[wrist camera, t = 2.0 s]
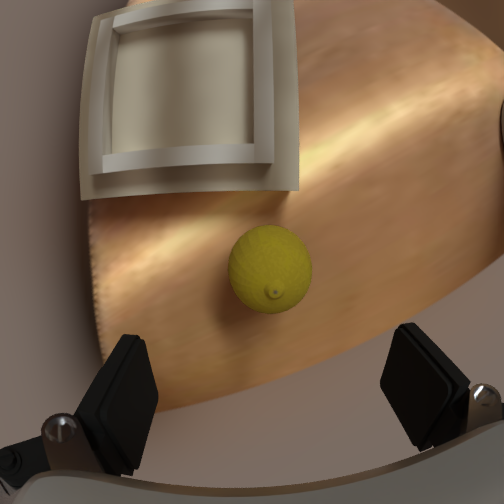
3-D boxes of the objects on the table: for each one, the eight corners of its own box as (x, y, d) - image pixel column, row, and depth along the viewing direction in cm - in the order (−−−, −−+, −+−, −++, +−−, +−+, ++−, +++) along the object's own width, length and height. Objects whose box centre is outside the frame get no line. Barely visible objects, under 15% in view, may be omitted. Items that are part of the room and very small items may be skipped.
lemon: (313, 249, 23) (344, 289, 15) (265, 294, 24) (274, 351, 16) (265, 201, 22) (275, 220, 14) (216, 251, 23) (202, 294, 15)
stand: (287, 10, 17) (295, -18, 12) (291, 187, 21) (303, 192, 17) (107, 29, 16) (85, 10, 12) (99, 195, 21) (70, 203, 17)
